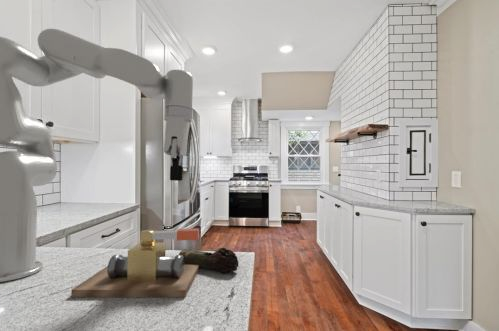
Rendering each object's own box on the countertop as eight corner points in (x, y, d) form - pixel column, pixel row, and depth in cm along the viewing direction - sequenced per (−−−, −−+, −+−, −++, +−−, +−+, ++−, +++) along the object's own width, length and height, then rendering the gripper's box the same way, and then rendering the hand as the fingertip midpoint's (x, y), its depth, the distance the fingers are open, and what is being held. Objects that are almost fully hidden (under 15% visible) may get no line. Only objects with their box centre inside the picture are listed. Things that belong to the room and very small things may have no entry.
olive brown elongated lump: (176, 267, 72) (177, 247, 72) (191, 260, 78) (191, 241, 78) (232, 277, 65) (232, 255, 65) (244, 269, 71) (244, 248, 71)
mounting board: (71, 297, 54) (71, 289, 54) (109, 270, 69) (109, 264, 69) (185, 297, 54) (185, 289, 54) (198, 270, 69) (199, 264, 69)
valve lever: (138, 246, 60) (139, 232, 60) (142, 243, 63) (142, 229, 63) (197, 244, 62) (198, 231, 62) (198, 241, 65) (198, 228, 65)
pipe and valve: (105, 283, 58) (105, 250, 58) (120, 271, 65) (120, 242, 65) (177, 283, 58) (177, 250, 59) (184, 271, 65) (185, 242, 65)
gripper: (169, 120, 80) (168, 179, 79) (158, 108, 65) (155, 181, 64) (194, 121, 81) (192, 179, 80) (188, 109, 66) (186, 181, 65)
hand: (176, 180), depth 72 cm, fingers closed
